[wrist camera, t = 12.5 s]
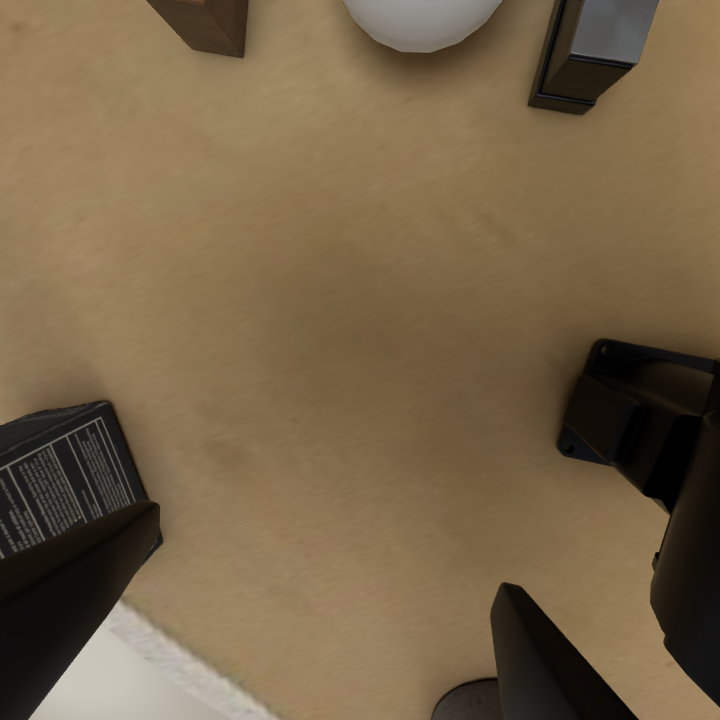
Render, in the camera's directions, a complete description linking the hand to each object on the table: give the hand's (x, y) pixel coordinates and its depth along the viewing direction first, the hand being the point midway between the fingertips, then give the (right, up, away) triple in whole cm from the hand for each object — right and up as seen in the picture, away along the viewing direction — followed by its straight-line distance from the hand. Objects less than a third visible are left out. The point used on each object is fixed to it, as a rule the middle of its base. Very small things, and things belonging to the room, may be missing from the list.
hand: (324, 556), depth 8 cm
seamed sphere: (+3, +21, +7) cm, 23 cm away
